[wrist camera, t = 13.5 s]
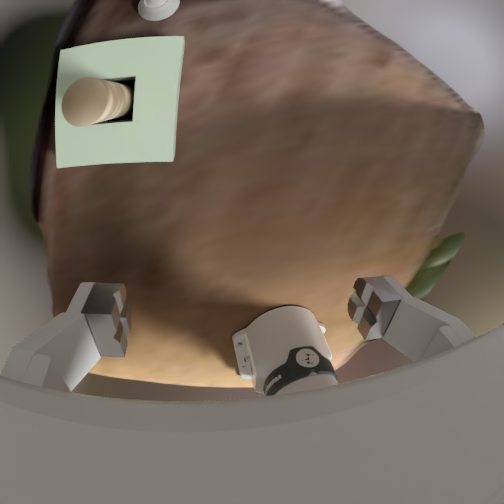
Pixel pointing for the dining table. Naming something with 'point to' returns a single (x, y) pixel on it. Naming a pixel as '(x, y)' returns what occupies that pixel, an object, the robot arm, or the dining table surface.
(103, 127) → the socket block
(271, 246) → the dining table surface
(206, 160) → the dining table surface
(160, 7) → the chalice
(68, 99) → the peg
